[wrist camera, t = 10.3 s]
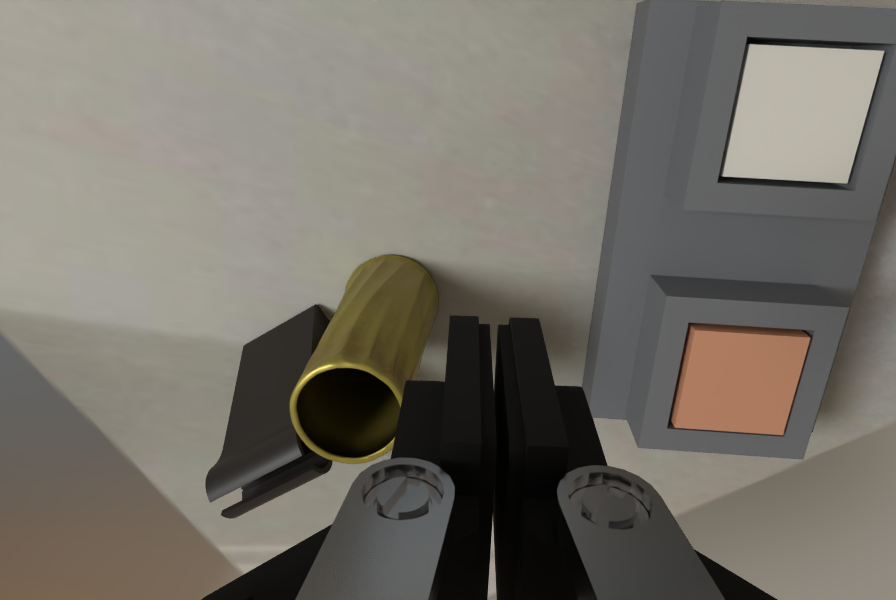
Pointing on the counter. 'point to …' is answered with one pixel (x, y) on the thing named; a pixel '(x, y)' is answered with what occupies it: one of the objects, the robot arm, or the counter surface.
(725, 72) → the button panel
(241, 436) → the phone stand
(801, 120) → the ivory button
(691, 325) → the terracotta button
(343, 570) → the robot arm
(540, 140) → the counter surface
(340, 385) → the vase
